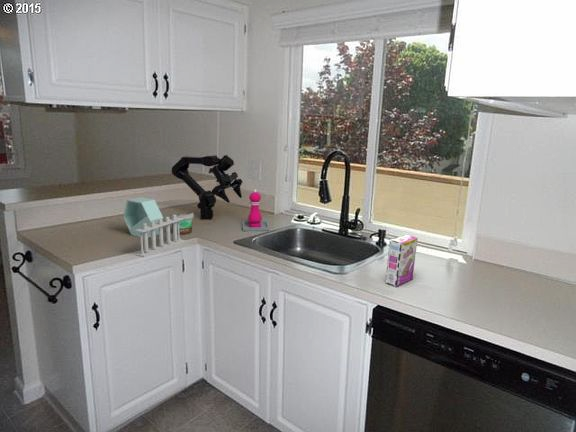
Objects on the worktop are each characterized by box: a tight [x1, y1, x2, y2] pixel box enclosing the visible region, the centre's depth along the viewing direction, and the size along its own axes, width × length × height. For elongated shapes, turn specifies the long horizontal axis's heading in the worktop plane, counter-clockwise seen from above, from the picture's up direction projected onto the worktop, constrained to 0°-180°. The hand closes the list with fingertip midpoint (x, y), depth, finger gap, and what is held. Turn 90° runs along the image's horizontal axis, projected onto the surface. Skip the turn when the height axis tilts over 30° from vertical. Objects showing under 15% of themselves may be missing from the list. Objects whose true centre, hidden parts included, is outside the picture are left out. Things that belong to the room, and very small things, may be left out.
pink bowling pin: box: [247, 189, 263, 228], centre depth 205 cm, size 7×7×20 cm
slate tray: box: [242, 220, 270, 232], centre depth 208 cm, size 13×13×2 cm
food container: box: [169, 210, 195, 236], centre depth 193 cm, size 12×6×10 cm, turn 131°
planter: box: [123, 196, 164, 239], centre depth 188 cm, size 17×8×21 cm
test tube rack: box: [134, 214, 185, 258], centre depth 171 cm, size 25×4×13 cm, turn 154°
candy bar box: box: [385, 234, 419, 288], centre depth 141 cm, size 11×5×16 cm, turn 133°
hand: (235, 200), depth 212 cm, fingers open, 9 cm apart
